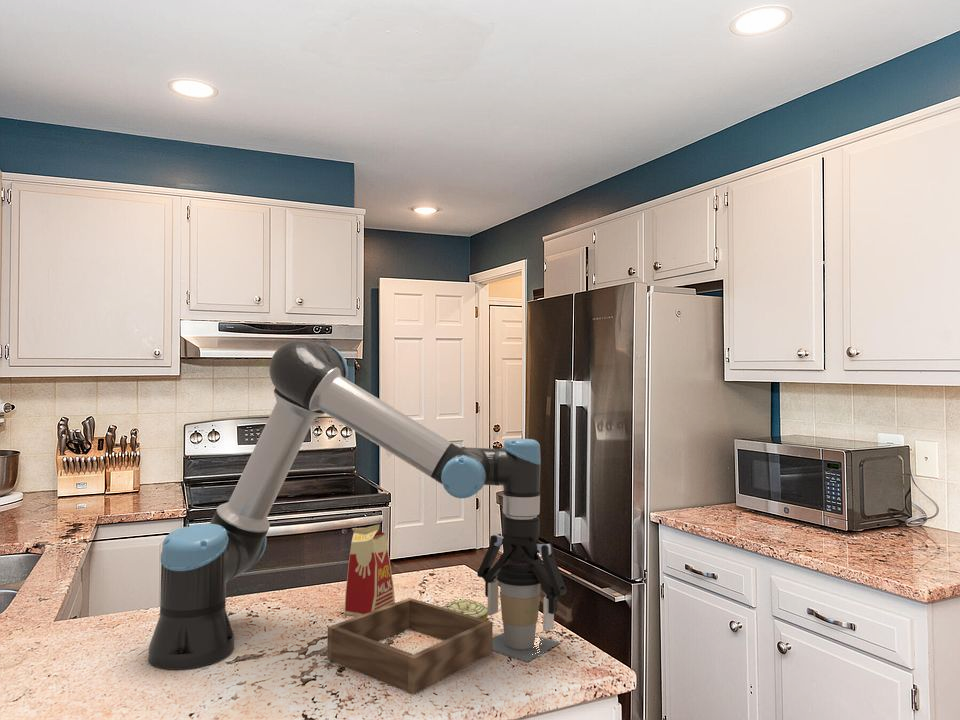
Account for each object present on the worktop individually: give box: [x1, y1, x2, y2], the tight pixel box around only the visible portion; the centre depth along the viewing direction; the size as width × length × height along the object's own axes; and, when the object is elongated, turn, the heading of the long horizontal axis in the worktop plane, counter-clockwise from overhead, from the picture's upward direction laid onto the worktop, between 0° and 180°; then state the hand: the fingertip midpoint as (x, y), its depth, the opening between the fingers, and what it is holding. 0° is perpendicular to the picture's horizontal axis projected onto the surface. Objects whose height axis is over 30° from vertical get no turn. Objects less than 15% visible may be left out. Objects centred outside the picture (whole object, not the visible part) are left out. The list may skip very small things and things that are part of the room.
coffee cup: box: [496, 563, 542, 650], centre depth 136 cm, size 9×9×15 cm
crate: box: [326, 597, 494, 695], centre depth 129 cm, size 22×22×6 cm
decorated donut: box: [442, 599, 489, 620], centre depth 148 cm, size 10×11×4 cm
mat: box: [492, 632, 561, 663], centre depth 135 cm, size 12×12×1 cm
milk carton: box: [344, 524, 396, 617], centre depth 154 cm, size 9×9×20 cm
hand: (519, 621), depth 135 cm, fingers open, 13 cm apart
